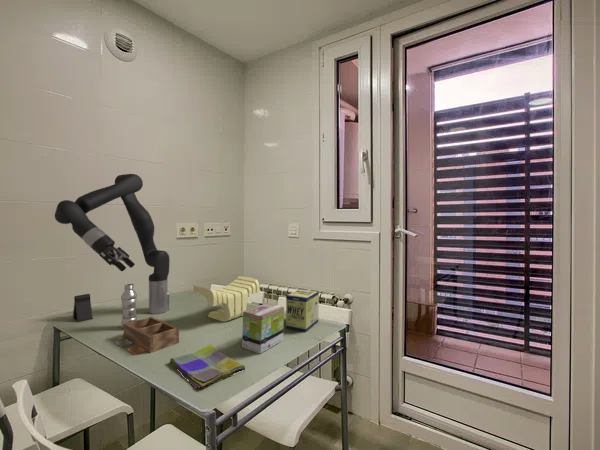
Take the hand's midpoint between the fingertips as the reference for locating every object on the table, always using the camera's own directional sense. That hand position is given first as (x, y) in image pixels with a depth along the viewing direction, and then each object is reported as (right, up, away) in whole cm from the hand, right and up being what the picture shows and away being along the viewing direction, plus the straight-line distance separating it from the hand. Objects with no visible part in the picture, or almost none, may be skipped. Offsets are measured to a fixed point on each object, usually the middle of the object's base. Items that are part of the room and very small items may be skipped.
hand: (128, 267), depth 124 cm
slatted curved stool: (+34, -30, +30) cm, 54 cm away
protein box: (+73, -30, +19) cm, 81 cm away
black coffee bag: (-38, -29, +26) cm, 55 cm away
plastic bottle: (-8, -30, +14) cm, 34 cm away
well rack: (+8, -30, -1) cm, 31 cm away
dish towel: (+39, -32, -21) cm, 55 cm away
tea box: (+57, -31, -3) cm, 65 cm away
